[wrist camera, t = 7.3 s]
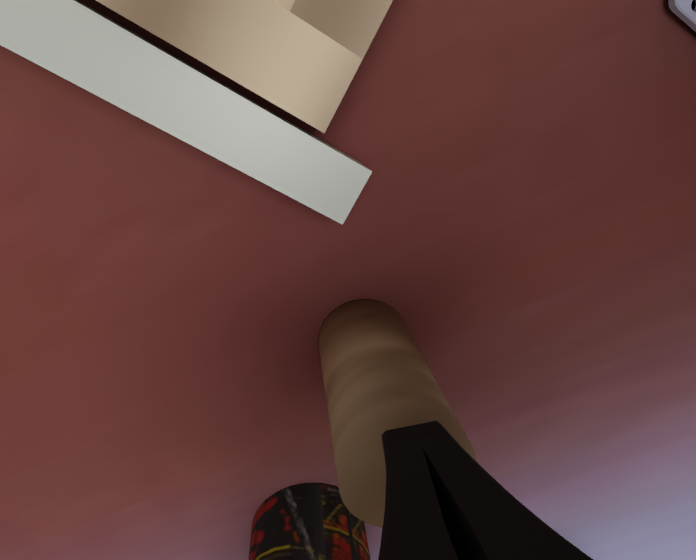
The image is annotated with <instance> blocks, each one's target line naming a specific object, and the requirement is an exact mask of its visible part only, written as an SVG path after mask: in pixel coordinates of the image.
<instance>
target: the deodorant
mask: <svg viewBox="0 0 696 560" xmlns="http://www.w3.org/2000/svg"><path fill="white" fill-rule="evenodd" d="M249 560H370V554H369V549H368V543H367V537H366V531H365V526H364V521H362V520H360V519H358V518H357V517H355V516H354V515H353V514H352V513H351V512H350V511H349V510H348V509H347V508H346V506H345V505H344V503H343V501H342V499H341V496H340V493H339V488H338V487H335V486H332V485H327V484H322V483H304V484H299V485H295V486H290V487H288V488H286V489H283V490H281V491H279V492H277V493H275V494H274V495H272V496H271V497H270V498H268V499H267V500H266V501H265V502H264V503H263V504H262V505H261V506H260V508H259V509H258V510H257V512H256V514H255V517H254V519H253V522H252V532H251V542H250V552H249Z"/></svg>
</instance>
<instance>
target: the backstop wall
mask: <svg viewBox="0 0 696 560" xmlns="http://www.w3.org/2000/svg"><path fill="white" fill-rule="evenodd" d="M0 45H1V46H3V47H5V48H7V49H9V50H11V51H13V52H15V53H16V54H18V55H20V56H22V57H24V58H26V59H28V60H30V61H32V62H34V63H36V64H37V65H39V66H41V67H43V68H45V69H47V70H49V71H51V72H53V73H55V74H56V75H58V76H60V77H62V78H64V79H66V80H68V81H70V82H72V83H74V84H76V85H77V86H79V87H81V88H83V89H85V90H87V91H89V92H91V93H93V94H95V95H96V96H98V97H100V98H102V99H104V100H106V101H108V102H110V103H112V104H114V105H115V106H117V107H119V108H121V109H123V110H125V111H127V112H129V113H131V114H133V115H135V116H136V117H138V118H140V119H142V120H144V121H146V122H148V123H150V124H152V125H154V126H155V127H157V128H159V129H161V130H163V131H165V132H167V133H169V134H171V135H173V136H175V137H176V138H178V139H180V140H182V141H184V142H186V143H188V144H190V145H192V146H194V147H195V148H197V149H199V150H201V151H203V152H205V153H207V154H209V155H211V156H213V157H215V158H216V159H218V160H220V161H222V162H224V163H226V164H228V165H230V166H232V167H234V168H235V169H237V170H239V171H241V172H243V173H245V174H247V175H249V176H251V177H253V178H255V179H256V180H258V181H260V182H262V183H264V184H266V185H268V186H270V187H272V188H274V189H275V190H277V191H279V192H281V193H283V194H285V195H287V196H289V197H291V198H293V199H294V200H296V201H298V202H300V203H302V204H304V205H306V206H308V207H310V208H312V209H314V210H315V211H317V212H319V213H321V214H323V215H325V216H327V217H329V218H331V219H333V220H334V221H336V222H338V223H340V224H342V225H343V223H344V221H345V220H346V218H347V216H348V214H349V212H350V211H351V209H352V207H353V205H354V204H355V202H356V200H357V198H358V196H359V195H360V193H361V191H362V189H363V187H364V186H365V184H366V182H367V180H368V178H369V177H370V175H371V173H372V171H371V170H369V169H368V168H367V167H365V166H364V165H363V164H361V163H360V162H358V161H357V160H355V159H353V158H351V157H350V156H348V155H346V154H344V153H343V152H341V151H339V150H338V149H336V148H334V147H332V146H331V145H329V144H327V143H325V142H324V141H322V140H320V139H318V138H317V137H315V136H313V135H312V134H310V133H308V132H306V131H305V130H303V129H301V128H299V127H298V126H296V125H294V124H292V123H291V122H289V121H287V120H285V119H284V118H282V117H280V116H279V115H277V114H275V113H273V112H272V111H270V110H268V109H266V108H265V107H263V106H261V105H259V104H258V103H256V102H254V101H252V100H251V99H249V98H247V97H246V96H244V95H242V94H240V93H239V92H237V91H235V90H233V89H232V88H230V87H228V86H226V85H225V84H223V83H221V82H219V81H218V80H216V79H214V78H213V77H211V76H209V75H207V74H206V73H204V72H202V71H200V70H199V69H197V68H195V67H193V66H192V65H190V64H188V63H186V62H185V61H183V60H181V59H180V58H178V57H176V56H174V55H173V54H171V53H169V52H167V51H166V50H164V49H162V48H160V47H159V46H157V45H155V44H153V43H152V42H150V41H148V40H147V39H145V38H143V37H141V36H140V35H138V34H136V33H134V32H133V31H131V30H129V29H127V28H126V27H124V26H122V25H120V24H119V23H117V22H115V21H114V20H112V19H110V18H108V17H107V16H105V15H103V14H101V13H100V12H98V11H96V10H94V9H93V8H91V7H89V6H87V5H86V4H84V3H82V2H81V1H79V0H0Z"/></svg>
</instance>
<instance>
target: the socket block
mask: <svg viewBox="0 0 696 560" xmlns="http://www.w3.org/2000/svg"><path fill="white" fill-rule="evenodd" d="M96 1H98V2H99V3H101V4H103V5H104V6H106V7H108V8H110V9H111V10H113V11H115V12H116V13H118V14H120V15H122V16H123V17H125V18H127V19H128V20H130V21H132V22H134V23H135V24H137V25H139V26H140V27H142V28H144V29H146V30H147V31H149V32H151V33H153V34H154V35H156V36H158V37H159V38H161V39H163V40H165V41H166V42H168V43H170V44H171V45H173V46H175V47H177V48H178V49H180V50H182V51H183V52H185V53H187V54H189V55H190V56H192V57H194V58H196V59H197V60H199V61H201V62H202V63H204V64H206V65H208V66H209V67H211V68H213V69H214V70H216V71H218V72H220V73H221V74H223V75H225V76H226V77H228V78H230V79H232V80H233V81H235V82H237V83H238V84H240V85H242V86H244V87H245V88H247V89H249V90H251V91H252V92H254V93H256V94H257V95H259V96H261V97H263V98H264V99H266V100H268V101H269V102H271V103H273V104H275V105H276V106H278V107H280V108H281V109H283V110H285V111H287V112H288V113H290V114H292V115H293V116H295V117H297V118H299V119H300V120H302V121H304V122H306V123H307V124H309V125H311V126H312V127H314V128H316V129H318V130H319V131H321V132H323V133H325V131H326V130H327V128H328V126H329V124H330V122H331V120H332V118H333V116H334V114H335V112H336V110H337V108H338V106H339V104H340V102H341V100H342V98H343V96H344V95H345V93H346V91H347V89H348V87H349V85H350V83H351V81H352V79H353V77H354V75H355V73H356V71H357V69H358V67H359V65H360V63H361V61H362V60H363V58H364V56H365V54H366V52H367V50H368V48H369V46H370V44H371V42H372V40H373V38H374V36H375V34H376V32H377V30H378V28H379V26H380V25H381V23H382V21H383V19H384V17H385V15H386V13H387V11H388V9H389V7H390V5H391V3H392V1H393V0H96Z"/></svg>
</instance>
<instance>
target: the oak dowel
mask: <svg viewBox="0 0 696 560" xmlns="http://www.w3.org/2000/svg"><path fill="white" fill-rule="evenodd" d="M318 347H319V354H320V361H321V368H322V375H323V382H324V389H325V396H326V403H327V410H328V417H329V424H330V431H331V438H332V445H333V452H334V459H335V466H336V473H337V480H338V487H339V493H340V496H341V499H342V501H343V503H344V505H345V506H346V508H347V509H348V510H349V511H350V512H351V513H352V514H353V515H354V516H355V517H357V518H358V519H360V520H362V521H364V522H366V523H368V524H371V525H374V526H378V527H383V521H384V512H385V495H386V465H385V458H384V451H383V443H382V436H381V435H382V434H383V433H384V432H385V431H386V430H391V429H396V428H401V427H406V426H411V425H416V424H421V423H426V422H432V421H438V422H439V423H441V424H442V426H443V427H444V428H445V429H446V430H447V431H448V432H449V434H450V435H451V436H452V437H453V438H454V439H455V440H456V441H457V442H458V443H459V444H460V446H461V447H462V448H463V449H464V450H465V451H466V452H467V453H468V454H469V455H470V456H471V457H472V458H473V459H474V460H475V461H476V459H475V454H474V451H473V448H472V446H471V444H470V442H469V440H468V438H467V437H466V435H465V433H464V431H463V429H462V428H461V426H460V424H459V422H458V420H457V419H456V417H455V415H454V413H453V411H452V410H451V408H450V406H449V404H448V402H447V401H446V399H445V397H444V395H443V393H442V391H441V390H440V388H439V386H438V384H437V382H436V381H435V379H434V377H433V375H432V373H431V372H430V370H429V368H428V366H427V364H426V363H425V361H424V359H423V357H422V355H421V354H420V352H419V350H418V348H417V346H416V344H415V343H414V341H413V339H412V337H411V335H410V334H409V332H408V330H407V328H406V326H405V325H404V323H403V321H402V319H401V317H400V316H399V315H398V313H397V312H396V311H395V310H394V309H393V308H391V307H390V306H389V305H387V304H385V303H383V302H380V301H376V300H370V299H361V300H354V301H351V302H348V303H346V304H343V305H341V306H340V307H338V308H337V309H335V310H334V311H333V312H332V313H331V314H330V315H329V316H328V317H327V318H326V319H325V321H324V323H323V324H322V327H321V329H320V332H319V337H318Z"/></svg>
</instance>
